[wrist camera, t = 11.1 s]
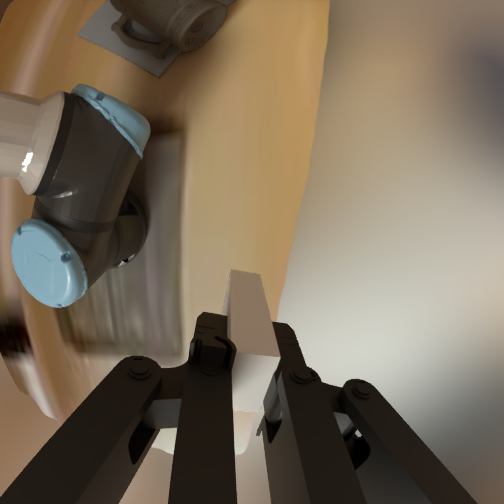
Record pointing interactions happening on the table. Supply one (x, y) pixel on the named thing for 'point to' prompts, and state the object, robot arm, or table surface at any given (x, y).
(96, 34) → the mat
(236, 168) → the table surface
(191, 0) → the beer stein
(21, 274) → the robot arm
